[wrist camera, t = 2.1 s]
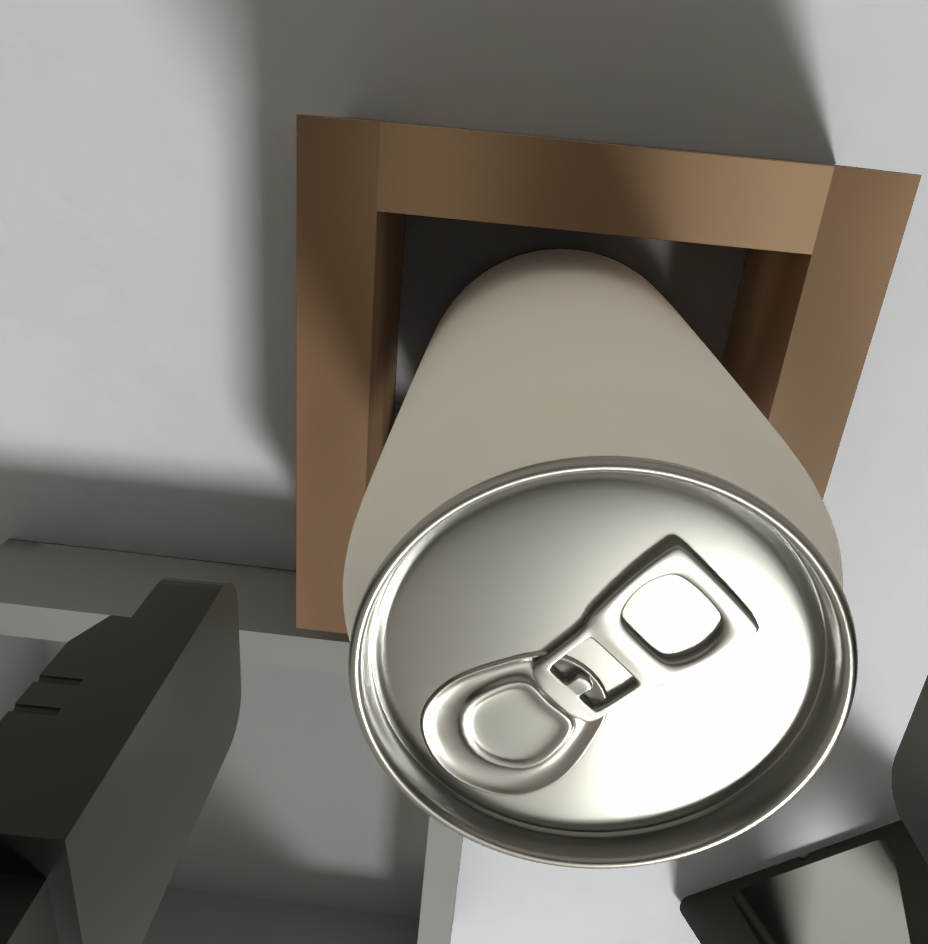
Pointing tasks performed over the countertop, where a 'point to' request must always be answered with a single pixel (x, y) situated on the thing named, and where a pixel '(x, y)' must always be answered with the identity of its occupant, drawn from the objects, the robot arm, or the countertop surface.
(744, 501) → the can
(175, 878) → the tray
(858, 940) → the phone stand
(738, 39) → the countertop surface
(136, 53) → the countertop surface
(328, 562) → the socket block
